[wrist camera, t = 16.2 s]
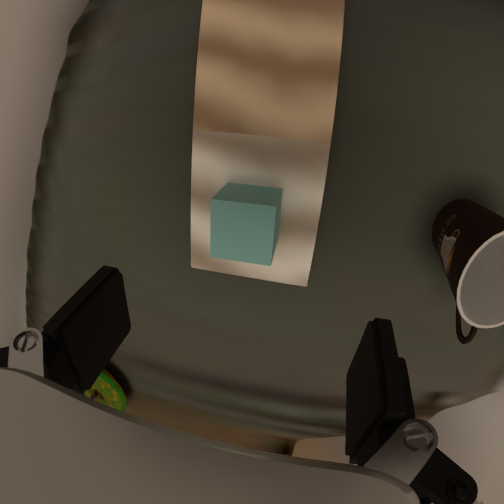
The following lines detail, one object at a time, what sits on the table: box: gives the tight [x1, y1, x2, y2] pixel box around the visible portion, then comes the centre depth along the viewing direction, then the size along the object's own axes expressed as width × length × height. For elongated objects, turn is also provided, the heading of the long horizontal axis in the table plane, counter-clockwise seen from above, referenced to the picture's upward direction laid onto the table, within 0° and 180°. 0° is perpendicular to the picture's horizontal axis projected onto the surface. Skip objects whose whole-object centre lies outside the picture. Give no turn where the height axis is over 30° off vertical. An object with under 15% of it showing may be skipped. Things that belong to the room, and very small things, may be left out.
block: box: [210, 183, 283, 266], centre depth 27 cm, size 5×5×5 cm
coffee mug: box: [432, 199, 504, 344], centre depth 23 cm, size 12×9×10 cm
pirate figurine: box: [83, 368, 128, 412], centre depth 42 cm, size 14×13×15 cm
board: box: [191, 0, 345, 287], centre depth 27 cm, size 28×12×1 cm, turn 175°
